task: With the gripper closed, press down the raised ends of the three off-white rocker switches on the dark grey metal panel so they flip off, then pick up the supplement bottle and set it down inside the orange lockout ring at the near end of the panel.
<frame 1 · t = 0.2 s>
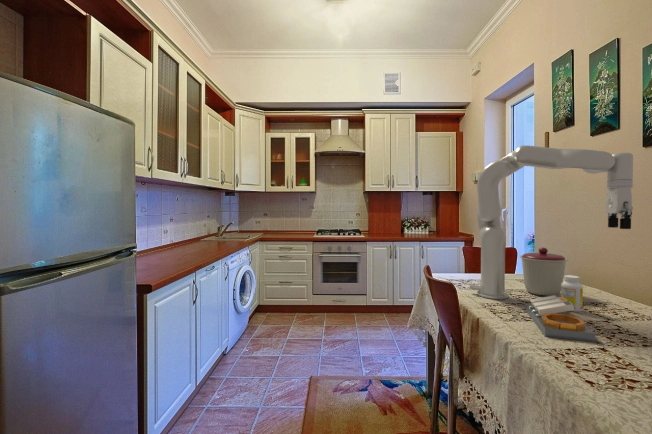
hand: (618, 228, 130), 31 cm above the table, tool pointing down, fingers open, 9 cm apart
rocker b: (550, 304, 116), point 5 cm above the table, hinge at -17.0°
supplement bottle: (571, 310, 126), on the table
panel: (556, 324, 110), on the table
rocker c: (546, 300, 121), point 5 cm above the table, hinge at -17.0°
rocker a: (554, 308, 112), point 5 cm above the table, hinge at -17.0°
canister: (542, 293, 150), on the table
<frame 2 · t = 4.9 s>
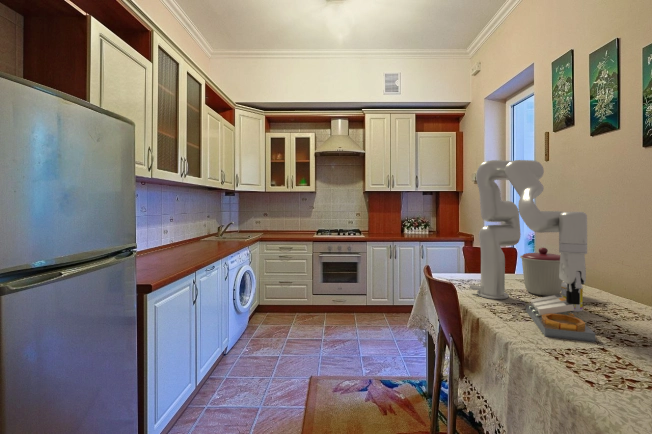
hand: (573, 303, 109), 7 cm above the table, tool pointing down, fingers closed
rocker a: (554, 308, 112), point 5 cm above the table, hinge at -15.5°, touching gripper
everything else where it was.
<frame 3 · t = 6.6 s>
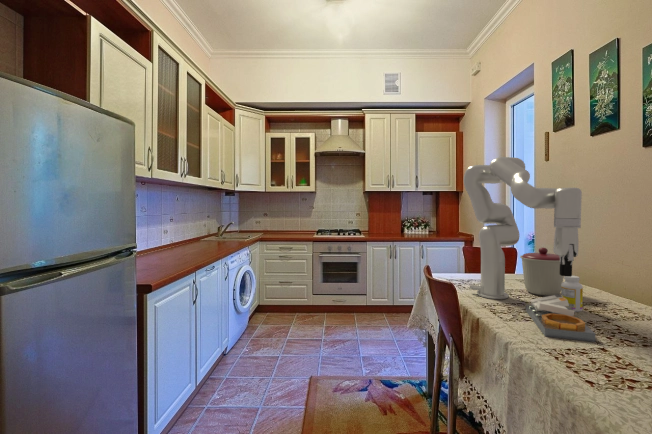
hand: (565, 275, 114), 16 cm above the table, tool pointing down, fingers closed
rocker a: (555, 308, 112), point 5 cm above the table, hinge at 8.8°
everything else where it was.
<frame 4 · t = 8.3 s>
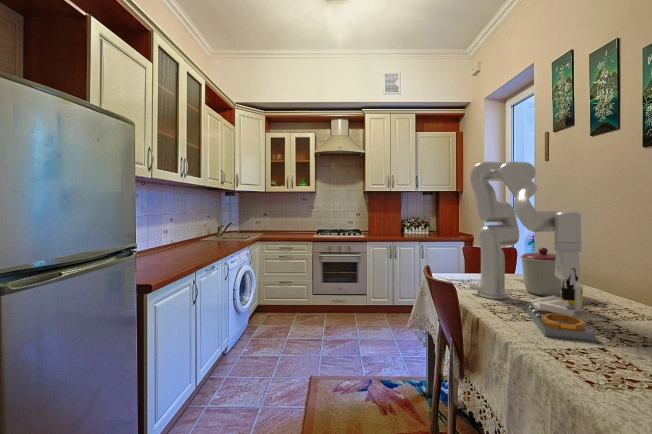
hand: (568, 299, 114), 7 cm above the table, tool pointing down, fingers closed
rocker b: (550, 304, 116), point 5 cm above the table, hinge at -15.7°, touching gripper
rocker a: (555, 308, 112), point 5 cm above the table, hinge at 9.3°
everything else where it was.
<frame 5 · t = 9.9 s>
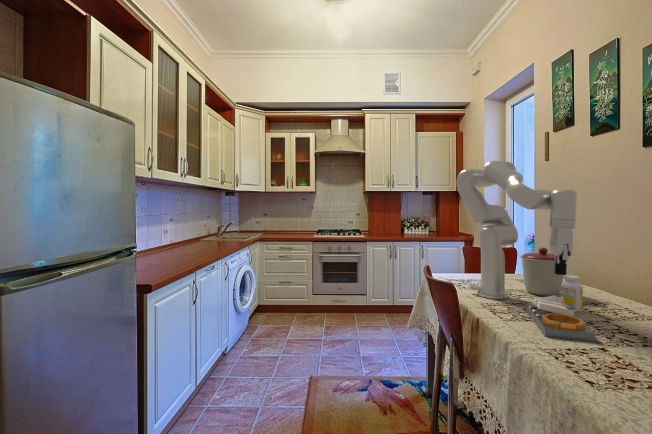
hand: (560, 274, 119), 15 cm above the table, tool pointing down, fingers closed
rocker b: (550, 304, 116), point 5 cm above the table, hinge at 8.7°
everything else where it was.
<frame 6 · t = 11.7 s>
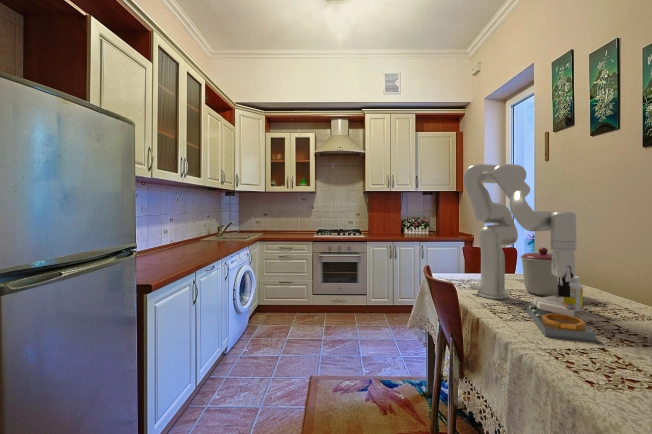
hand: (564, 296, 119), 7 cm above the table, tool pointing down, fingers closed
rocker b: (550, 304, 116), point 5 cm above the table, hinge at 9.3°
rocker c: (546, 300, 121), point 5 cm above the table, hinge at -14.4°, touching gripper
everything else where it was.
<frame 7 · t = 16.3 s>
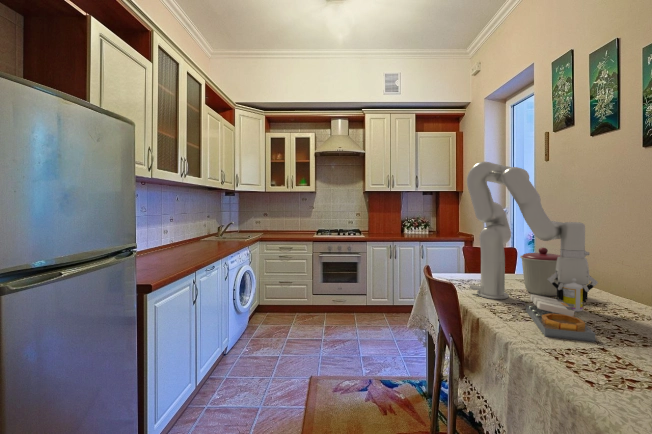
hand: (571, 300, 126), 4 cm above the table, tool pointing down, fingers closed on supplement bottle, 6 cm apart
supplement bottle: (571, 310, 126), on the table, touching gripper
rocker c: (546, 300, 121), point 5 cm above the table, hinge at 8.9°
everything else where it was.
when the fingers open (7 cm above the table, at t = 21.9 s): supplement bottle drops 1 cm, resting on panel.
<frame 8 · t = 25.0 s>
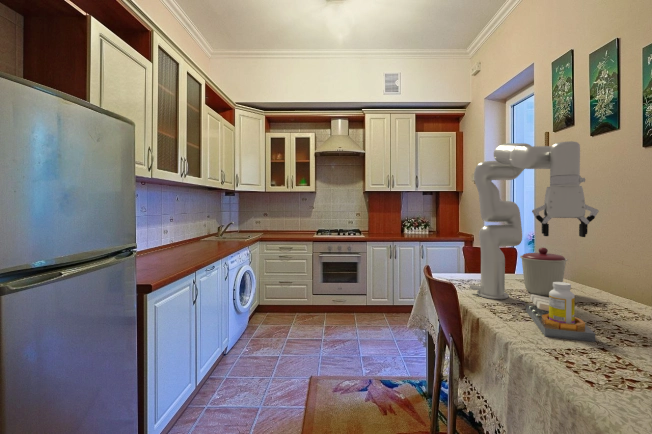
hand: (563, 236, 103), 30 cm above the table, tool pointing down, fingers open, 9 cm apart
supplement bottle: (561, 323, 104), point 2 cm above the table, touching panel
everything else where it was.
at the end: supplement bottle 0.4 cm from the target spot on the panel, point 2.3 cm above the panel's base; supplement bottle tilted 0°; rocker b at +9° (first picture: -17°) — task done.
